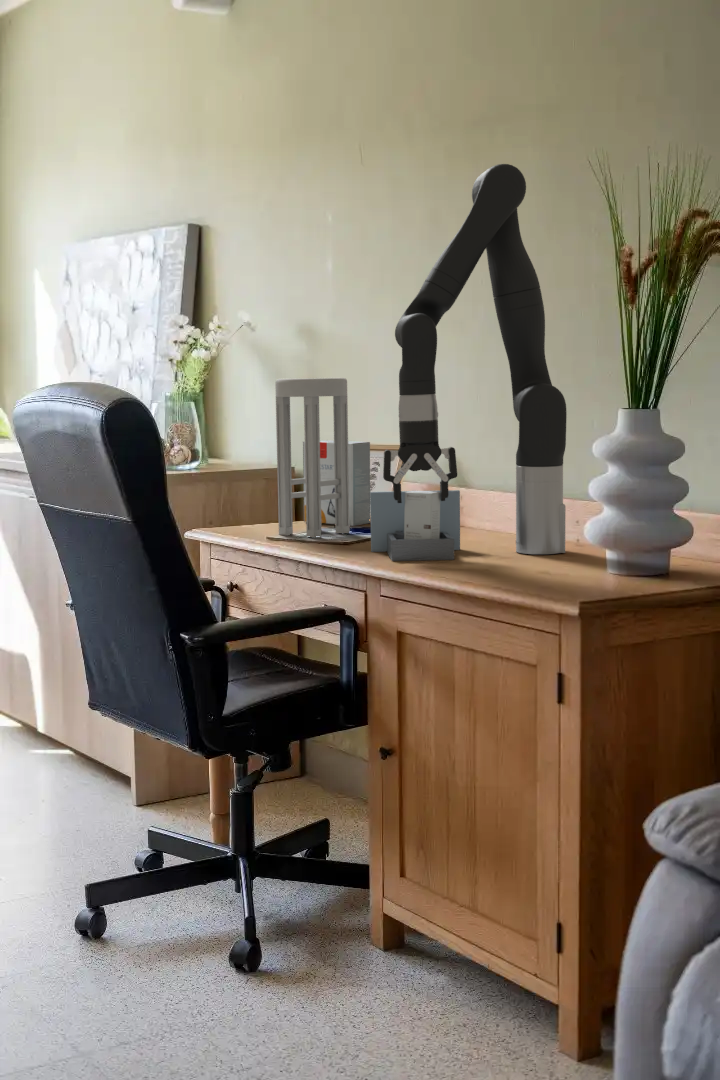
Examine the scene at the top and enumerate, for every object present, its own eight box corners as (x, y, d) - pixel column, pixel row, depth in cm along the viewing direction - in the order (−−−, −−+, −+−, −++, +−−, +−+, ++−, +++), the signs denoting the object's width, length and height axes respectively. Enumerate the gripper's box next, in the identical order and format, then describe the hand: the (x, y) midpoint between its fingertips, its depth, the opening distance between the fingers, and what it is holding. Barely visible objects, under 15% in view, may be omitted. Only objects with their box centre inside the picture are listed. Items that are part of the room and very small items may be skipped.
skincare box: (403, 553, 255) (402, 492, 253) (413, 550, 258) (412, 490, 257) (431, 555, 252) (431, 492, 250) (441, 552, 255) (440, 491, 254)
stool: (362, 533, 295) (360, 377, 291) (313, 539, 284) (310, 378, 280) (314, 528, 306) (311, 378, 301) (265, 534, 294) (262, 379, 290)
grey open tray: (445, 550, 264) (445, 529, 263) (454, 559, 249) (454, 537, 249) (386, 551, 263) (386, 530, 262) (391, 561, 249) (391, 539, 248)
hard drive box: (302, 522, 319) (301, 441, 316) (322, 519, 325) (320, 439, 322) (353, 526, 309) (351, 442, 307) (372, 523, 315) (371, 440, 313)
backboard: (459, 548, 265) (458, 490, 264) (460, 549, 264) (459, 490, 262) (371, 550, 264) (370, 491, 263) (371, 551, 263) (370, 492, 261)
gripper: (452, 416, 256) (454, 498, 258) (380, 419, 255) (383, 501, 257) (457, 417, 248) (459, 502, 250) (383, 420, 248) (386, 505, 250)
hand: (421, 501), depth 254 cm, fingers open, 8 cm apart
